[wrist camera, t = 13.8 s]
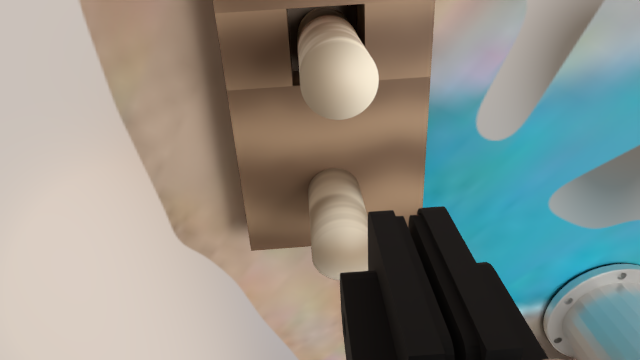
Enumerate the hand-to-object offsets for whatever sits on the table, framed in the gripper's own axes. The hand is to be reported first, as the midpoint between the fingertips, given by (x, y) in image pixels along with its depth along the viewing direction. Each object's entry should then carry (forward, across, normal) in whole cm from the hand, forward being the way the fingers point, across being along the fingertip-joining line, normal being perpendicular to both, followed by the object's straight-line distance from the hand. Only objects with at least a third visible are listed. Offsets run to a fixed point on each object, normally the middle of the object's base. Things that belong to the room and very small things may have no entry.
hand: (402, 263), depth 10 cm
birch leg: (+26, 0, 0) cm, 27 cm away
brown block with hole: (+26, 0, +5) cm, 27 cm away
